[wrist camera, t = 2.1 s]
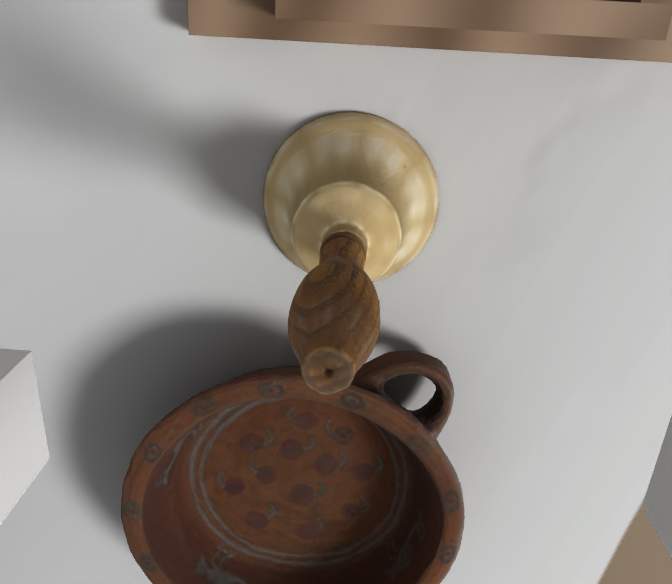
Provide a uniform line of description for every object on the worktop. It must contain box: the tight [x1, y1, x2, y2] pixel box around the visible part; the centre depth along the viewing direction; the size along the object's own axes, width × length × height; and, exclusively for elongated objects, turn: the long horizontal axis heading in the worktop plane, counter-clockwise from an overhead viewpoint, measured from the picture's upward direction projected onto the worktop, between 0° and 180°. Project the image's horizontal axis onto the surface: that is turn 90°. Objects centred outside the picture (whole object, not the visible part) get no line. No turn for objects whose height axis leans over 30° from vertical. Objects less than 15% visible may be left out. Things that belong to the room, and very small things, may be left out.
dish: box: [121, 351, 465, 584], centre depth 34 cm, size 18×22×5 cm
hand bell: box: [263, 112, 439, 395], centre depth 22 cm, size 8×8×16 cm
